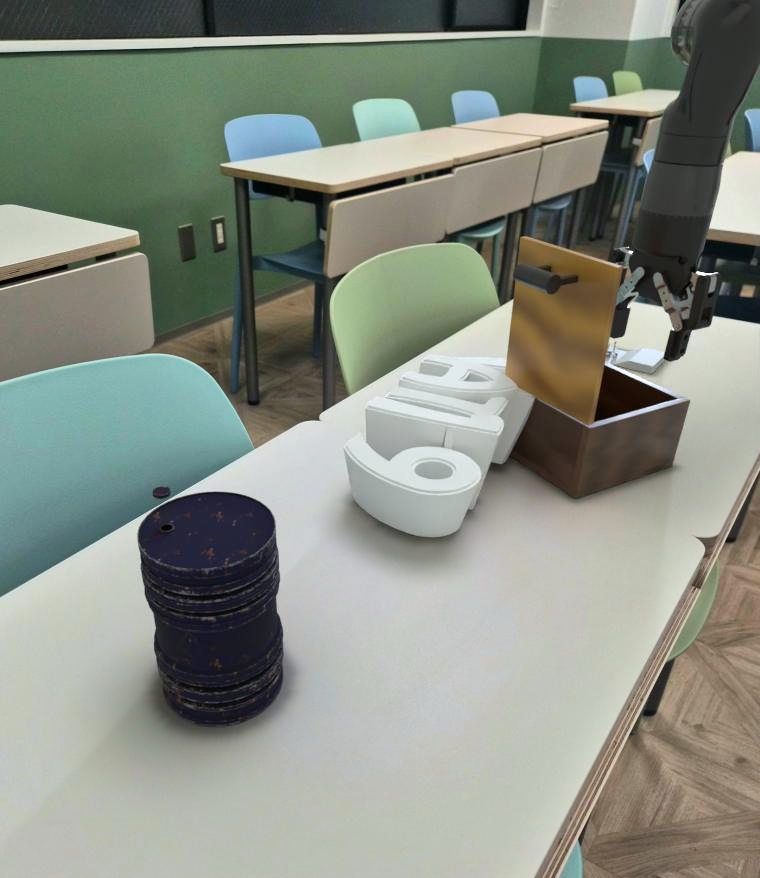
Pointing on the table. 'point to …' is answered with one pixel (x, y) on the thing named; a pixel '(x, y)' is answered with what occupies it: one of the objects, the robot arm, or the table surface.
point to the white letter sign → (435, 442)
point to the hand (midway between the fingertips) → (642, 348)
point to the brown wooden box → (605, 436)
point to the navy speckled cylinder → (214, 604)
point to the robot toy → (635, 358)
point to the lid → (561, 325)
